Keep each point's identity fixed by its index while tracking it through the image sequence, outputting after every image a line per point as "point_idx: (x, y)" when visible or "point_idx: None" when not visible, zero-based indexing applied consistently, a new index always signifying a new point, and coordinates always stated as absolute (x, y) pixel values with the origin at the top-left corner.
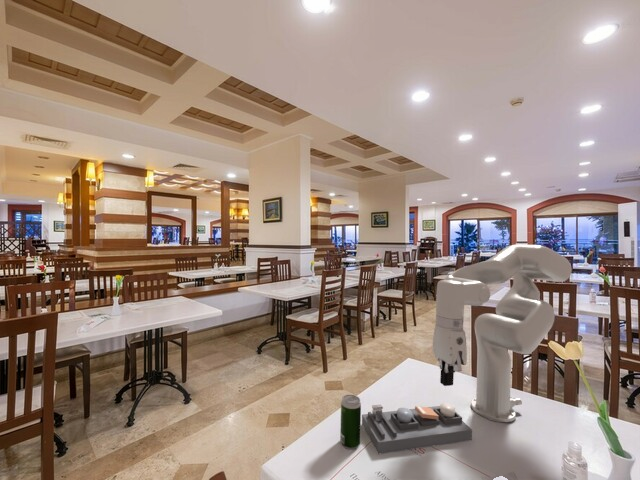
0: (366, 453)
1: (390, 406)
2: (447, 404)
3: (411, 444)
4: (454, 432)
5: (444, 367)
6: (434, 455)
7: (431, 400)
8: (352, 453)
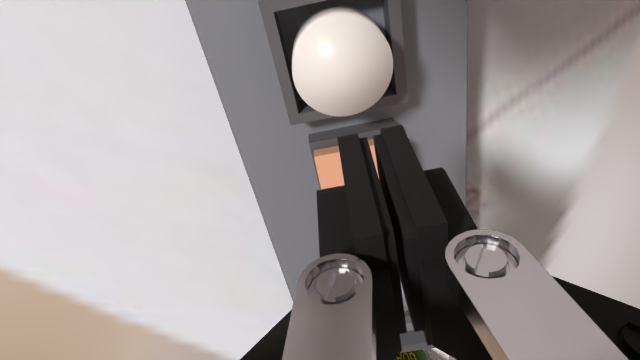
0: None
1: (174, 236)
2: (310, 56)
3: None
4: (466, 62)
5: (393, 358)
6: (498, 159)
7: (31, 4)
8: (438, 353)
